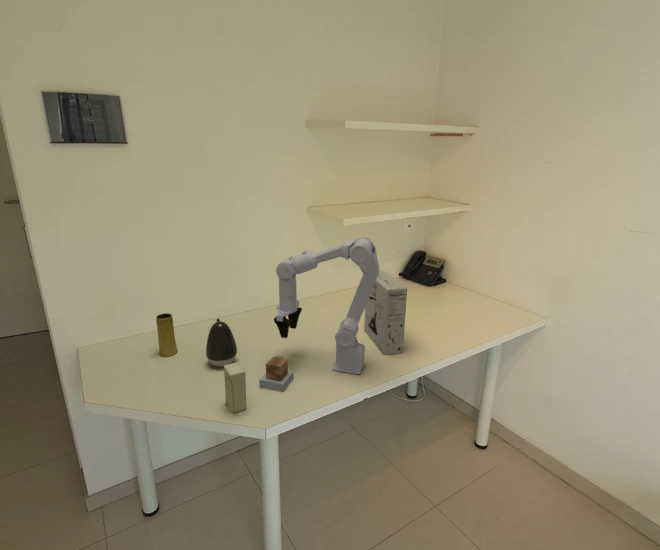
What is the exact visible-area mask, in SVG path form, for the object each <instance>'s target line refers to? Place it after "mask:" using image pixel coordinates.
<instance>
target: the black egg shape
mask: <svg viewBox="0 0 660 550" xmlns="http://www.w3.org/2000/svg"><path fill="white" fill-rule="evenodd" d="M215 320H216V322H214V323H213V324H212V325H211V326H210V329H209V332H208V336H207V340H206V346H205V356H206V358H207V360H208V362H209V363H210V364H211V365H212V366H215V367H223V368H224V365H228V364H231V363H234V360H235V358H236V356H237V353H238V347H237V344H236V339H235V337H234V334H233V332H232V329H231V328H230V326H229V325H228V324H227V323H226V322H224V321H221V319H220V318H216V319H215Z"/></svg>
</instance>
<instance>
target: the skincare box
mask: <svg viewBox="0 0 660 550" xmlns="http://www.w3.org/2000/svg"><path fill="white" fill-rule="evenodd" d="M223 372H224V373H223V375H224V391H225V393H224V394H225V403H226V405H227V407H228V408H229V410H230V411H231V412H230V413H232V414H235V413H238V412H241V411H244V410H247V387H246V386H247V385H246V384H247V383H246V382H247V381H246V380H247V379H246V370H245V369H244V368H243V366H242V365H241V364H240V362H238V361H236V362H232V363H231V364H228V365H224V366H223Z"/></svg>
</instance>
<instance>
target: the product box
mask: <svg viewBox="0 0 660 550" xmlns="http://www.w3.org/2000/svg"><path fill="white" fill-rule="evenodd" d="M407 296H408V287H407V286H405V285H404V284H403V283H401V282H400V281H399V280H398V279H396V278H394V277H393V276H392V275H391V274H389V273H388V272H387V271H386V270H379V274H378V277H377V279H376V281H375V284H374V286H373V289H372V291H371V294H370V296H369V299H368V301H367V303H366V306H365V308H364V322H363V323H364V326H363V327H364V328H363V330H364V332H365V333H366V334H367V335H368V337H369V338H370V339H371V341H372V342H373V343H374V345H375V346H376V347H377V348H378V350H379V351H380V352H381V353H382V355H384V356H386V355H394V354H395V355H396V354H402V353H403V352H404V341H405V324H406V311H407Z"/></svg>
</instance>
